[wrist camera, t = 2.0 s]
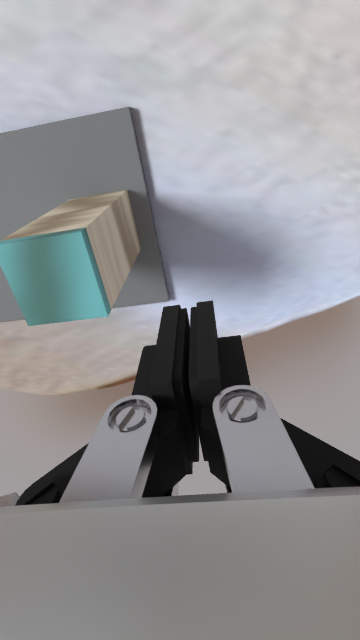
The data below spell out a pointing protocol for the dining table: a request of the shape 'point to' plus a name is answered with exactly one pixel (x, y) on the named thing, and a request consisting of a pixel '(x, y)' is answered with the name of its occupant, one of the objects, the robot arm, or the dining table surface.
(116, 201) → the birch block
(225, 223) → the dining table surface
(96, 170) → the rubber mat
